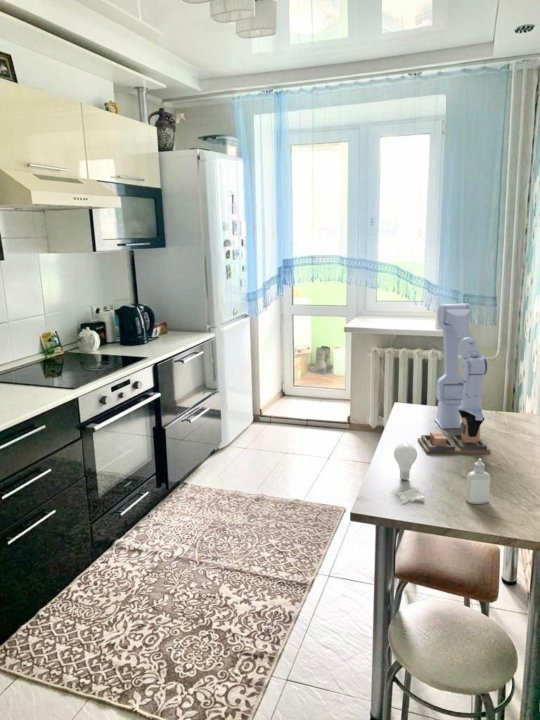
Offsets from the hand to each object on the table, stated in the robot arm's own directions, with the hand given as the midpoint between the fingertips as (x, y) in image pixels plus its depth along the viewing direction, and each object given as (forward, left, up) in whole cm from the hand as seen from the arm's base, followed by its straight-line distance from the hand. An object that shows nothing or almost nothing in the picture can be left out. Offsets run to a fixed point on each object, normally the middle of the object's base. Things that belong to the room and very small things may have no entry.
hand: (469, 433), depth 174 cm
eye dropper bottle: (+36, -10, -5) cm, 37 cm away
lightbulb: (+23, -26, -5) cm, 35 cm away
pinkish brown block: (0, 0, -2) cm, 2 cm away
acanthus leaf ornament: (+33, -27, -5) cm, 43 cm away
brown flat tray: (0, -5, -4) cm, 7 cm away
